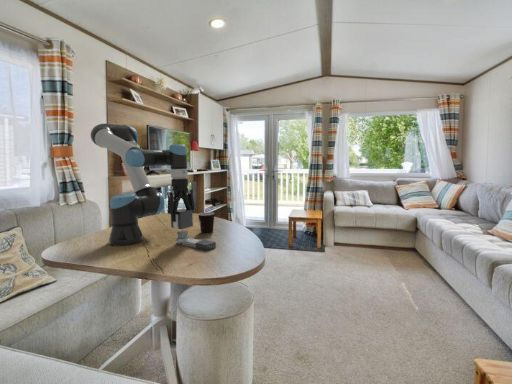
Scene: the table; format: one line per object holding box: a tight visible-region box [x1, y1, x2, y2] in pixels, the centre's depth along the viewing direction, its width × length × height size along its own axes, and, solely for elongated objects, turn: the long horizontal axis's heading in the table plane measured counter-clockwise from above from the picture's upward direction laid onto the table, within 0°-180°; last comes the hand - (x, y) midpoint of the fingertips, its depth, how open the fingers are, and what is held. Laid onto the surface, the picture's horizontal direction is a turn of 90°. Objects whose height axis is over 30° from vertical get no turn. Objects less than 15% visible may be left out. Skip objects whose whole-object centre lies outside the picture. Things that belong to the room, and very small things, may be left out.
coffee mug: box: [197, 212, 215, 234], centre depth 158 cm, size 12×9×10 cm
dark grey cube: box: [170, 208, 194, 230], centre depth 136 cm, size 7×7×8 cm
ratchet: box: [175, 229, 217, 252], centre depth 133 cm, size 22×6×6 cm, turn 56°
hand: (182, 226), depth 136 cm, fingers closed on dark grey cube, 7 cm apart
